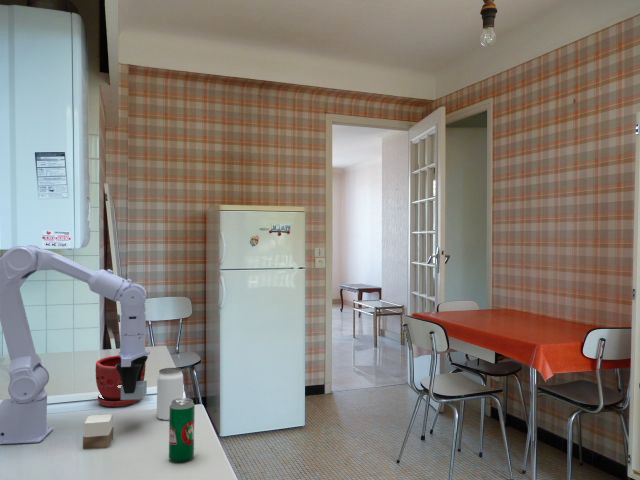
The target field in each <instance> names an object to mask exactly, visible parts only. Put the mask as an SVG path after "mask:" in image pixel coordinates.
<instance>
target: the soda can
mask: <svg viewBox="0 0 640 480" xmlns="http://www.w3.org/2000/svg"><path fill="white" fill-rule="evenodd" d="M171 403H172V404H171V405H170V412H169V420H168V421H169V422H168V423H169V426H168V427H169V429H168V458H169V459H170V461H171V462H174V463H181V464H182V463H185V462H188V461H190V460H191V459H193V457H194V455H195V414H196V413H195V409H196V408H195V403H194V400H193V399H192V398H190V397H183V398H178V399H175V400H173V401H172V402H171Z"/></svg>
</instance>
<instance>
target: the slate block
mask: <svg viewBox="0 0 640 480" xmlns="http://www.w3.org/2000/svg"><path fill="white" fill-rule="evenodd" d="M147 381H148V380H144V381H136V388H135V391H134V393H128V394H125V393H124V389H123V385H122V386H121V400H131V399H139V400H143V399H144V397H146V395H147V393H148V392H147V385H148V383H147Z"/></svg>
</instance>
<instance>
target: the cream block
mask: <svg viewBox="0 0 640 480" xmlns="http://www.w3.org/2000/svg"><path fill="white" fill-rule="evenodd" d="M113 415H114V414H113V413H109V414H108V413H107V414H105V413H104V414H95V415H94V414H92V415H88V417H87V418H86V420H85V422H84V427H83V430H84V431H83V432H84V434H83V436H84V437H94V436H106V435H109V434H110V432H111V430H112V427H113V425H114V424H113V423H114V416H113Z"/></svg>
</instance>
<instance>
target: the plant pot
mask: <svg viewBox="0 0 640 480" xmlns="http://www.w3.org/2000/svg"><path fill="white" fill-rule="evenodd" d="M118 363H121V358H120V356H119V354H118V355H111V356H105V357H103V358H100V359H98V360H97V361H96V362H95V383H96V387H97V390H98V392H99V395H100V394H101V395H102V397H103V398H104V399H102V398H100V397H99V395H98V396H97V401H98V402H99V403H100V404H101V405H103V406H106V407H124V406H125V407H126V406H128V405H133V404H135V403H136V402H138V401H139V400H140V399H131V400H121V388H118V387H117V386H118V385H123V384H122V380H121V377H120V374H119V372H118V371H117V369H116V365H117V364H118ZM146 363H147V361H146V362H145V365H144V368H143V371H142V375H141V380H140V381H145V376H146Z"/></svg>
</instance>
